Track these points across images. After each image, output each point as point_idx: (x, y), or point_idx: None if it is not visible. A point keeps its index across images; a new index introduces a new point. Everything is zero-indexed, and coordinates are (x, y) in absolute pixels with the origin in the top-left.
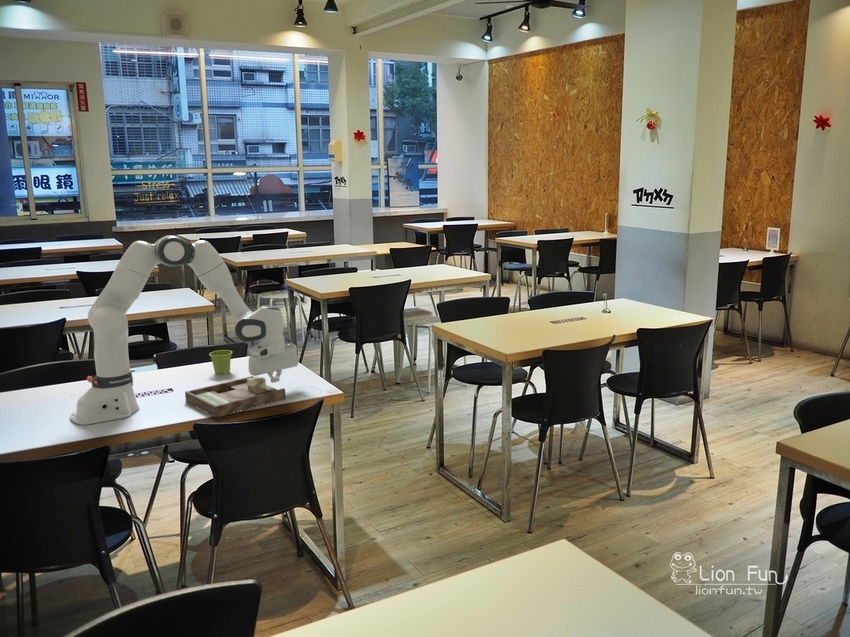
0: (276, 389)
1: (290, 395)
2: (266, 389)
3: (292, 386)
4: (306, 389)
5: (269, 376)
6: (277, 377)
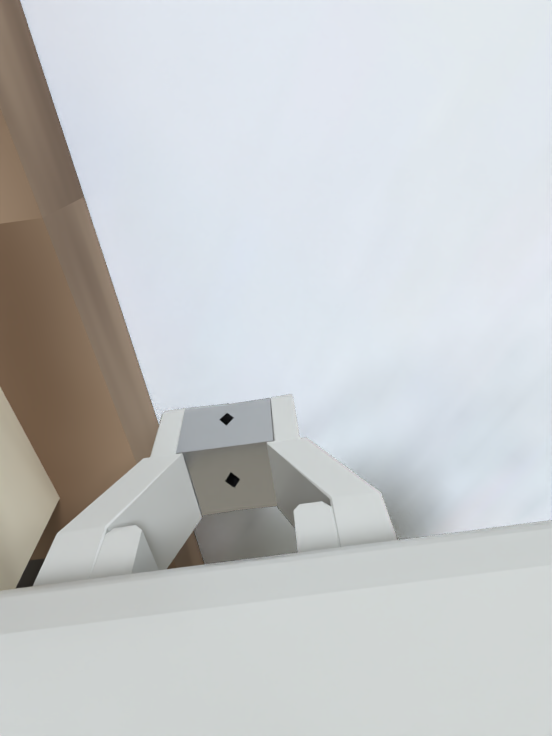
0: (170, 565)
1: (291, 546)
2: (59, 517)
3: (478, 328)
4: (499, 489)
5: (118, 491)
6: (269, 505)
